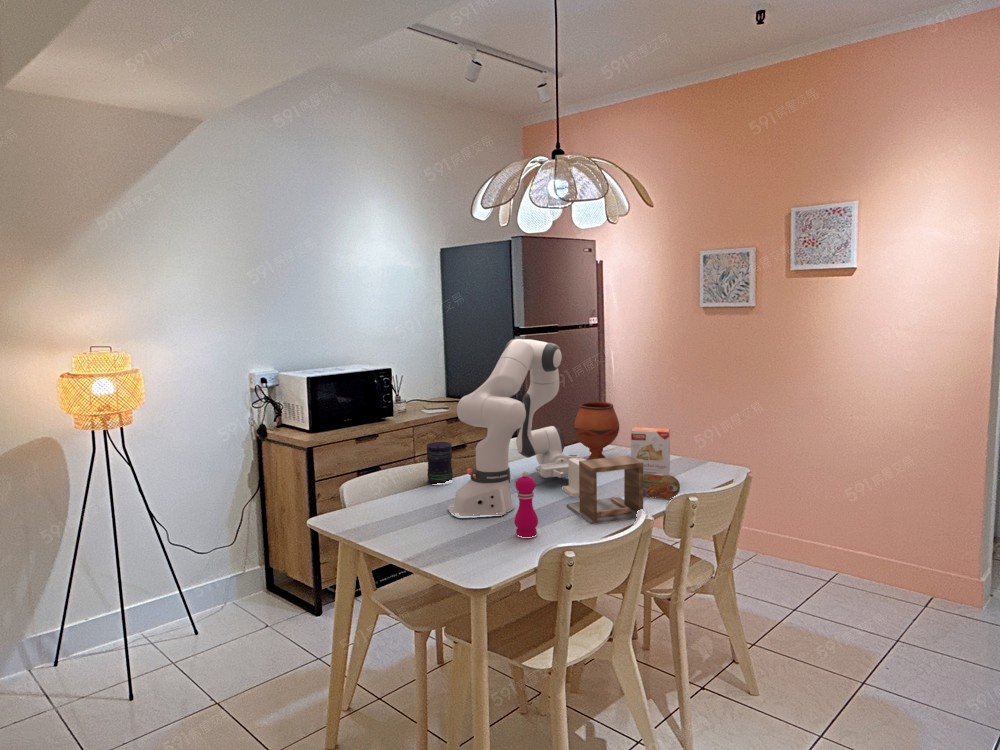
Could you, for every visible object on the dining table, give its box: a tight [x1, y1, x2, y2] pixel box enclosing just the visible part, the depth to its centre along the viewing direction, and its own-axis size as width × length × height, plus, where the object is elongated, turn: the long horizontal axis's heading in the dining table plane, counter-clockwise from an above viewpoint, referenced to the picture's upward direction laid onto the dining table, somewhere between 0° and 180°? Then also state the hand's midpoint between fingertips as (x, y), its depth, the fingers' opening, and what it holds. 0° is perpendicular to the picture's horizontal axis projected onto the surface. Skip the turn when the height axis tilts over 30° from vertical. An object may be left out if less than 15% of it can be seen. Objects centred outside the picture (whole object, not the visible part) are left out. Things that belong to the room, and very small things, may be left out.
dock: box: [566, 455, 644, 525], centre depth 227 cm, size 20×19×18 cm
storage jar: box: [426, 441, 454, 486], centre depth 266 cm, size 10×10×15 cm
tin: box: [643, 473, 681, 500], centre depth 241 cm, size 15×3×8 cm, turn 62°
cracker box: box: [630, 426, 671, 475], centre depth 257 cm, size 14×6×21 cm, turn 71°
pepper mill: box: [513, 470, 539, 537], centre depth 207 cm, size 7×7×20 cm
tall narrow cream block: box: [562, 458, 580, 498], centre depth 249 cm, size 8×9×12 cm
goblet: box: [573, 400, 620, 460], centre depth 289 cm, size 19×19×25 cm
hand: (573, 474), depth 252 cm, fingers open, 8 cm apart
